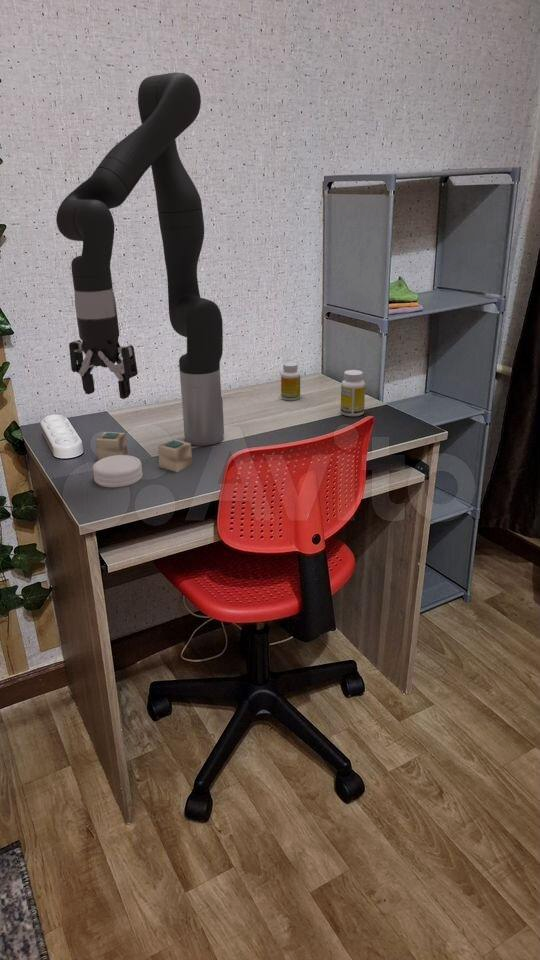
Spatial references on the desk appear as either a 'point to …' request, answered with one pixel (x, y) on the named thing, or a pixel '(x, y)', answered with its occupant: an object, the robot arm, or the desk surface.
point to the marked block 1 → (111, 444)
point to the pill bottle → (352, 393)
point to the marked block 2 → (175, 455)
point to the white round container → (117, 471)
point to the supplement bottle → (290, 381)
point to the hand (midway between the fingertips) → (107, 395)
